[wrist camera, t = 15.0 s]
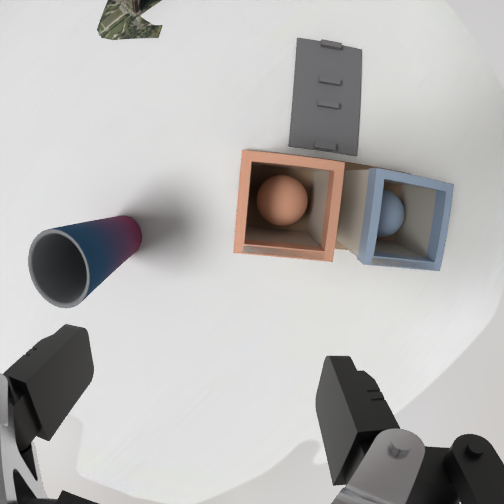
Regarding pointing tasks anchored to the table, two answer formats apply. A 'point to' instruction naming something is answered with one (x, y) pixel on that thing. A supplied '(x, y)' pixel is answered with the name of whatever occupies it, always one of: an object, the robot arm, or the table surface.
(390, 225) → the ball slate
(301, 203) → the ball terracotta
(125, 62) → the table surface
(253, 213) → the tube board
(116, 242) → the cup
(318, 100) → the mat
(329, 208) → the tube terracotta
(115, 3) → the eiffel tower figurine
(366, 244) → the tube slate
